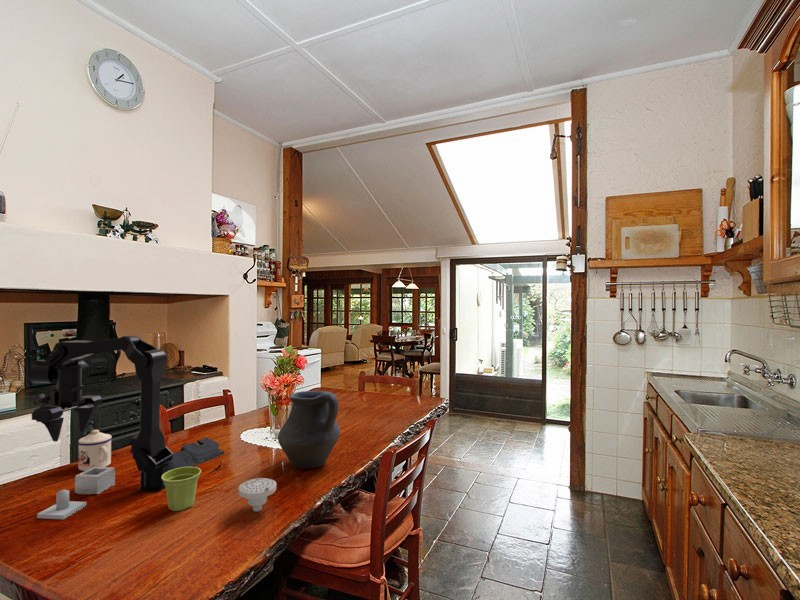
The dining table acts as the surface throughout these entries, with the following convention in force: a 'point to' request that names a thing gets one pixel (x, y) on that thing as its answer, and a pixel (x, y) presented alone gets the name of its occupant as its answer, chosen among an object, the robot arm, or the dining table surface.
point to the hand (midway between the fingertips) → (69, 436)
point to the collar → (94, 480)
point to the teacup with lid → (94, 450)
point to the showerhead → (257, 491)
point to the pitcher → (310, 429)
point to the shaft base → (63, 512)
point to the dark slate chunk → (195, 453)
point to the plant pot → (181, 487)
